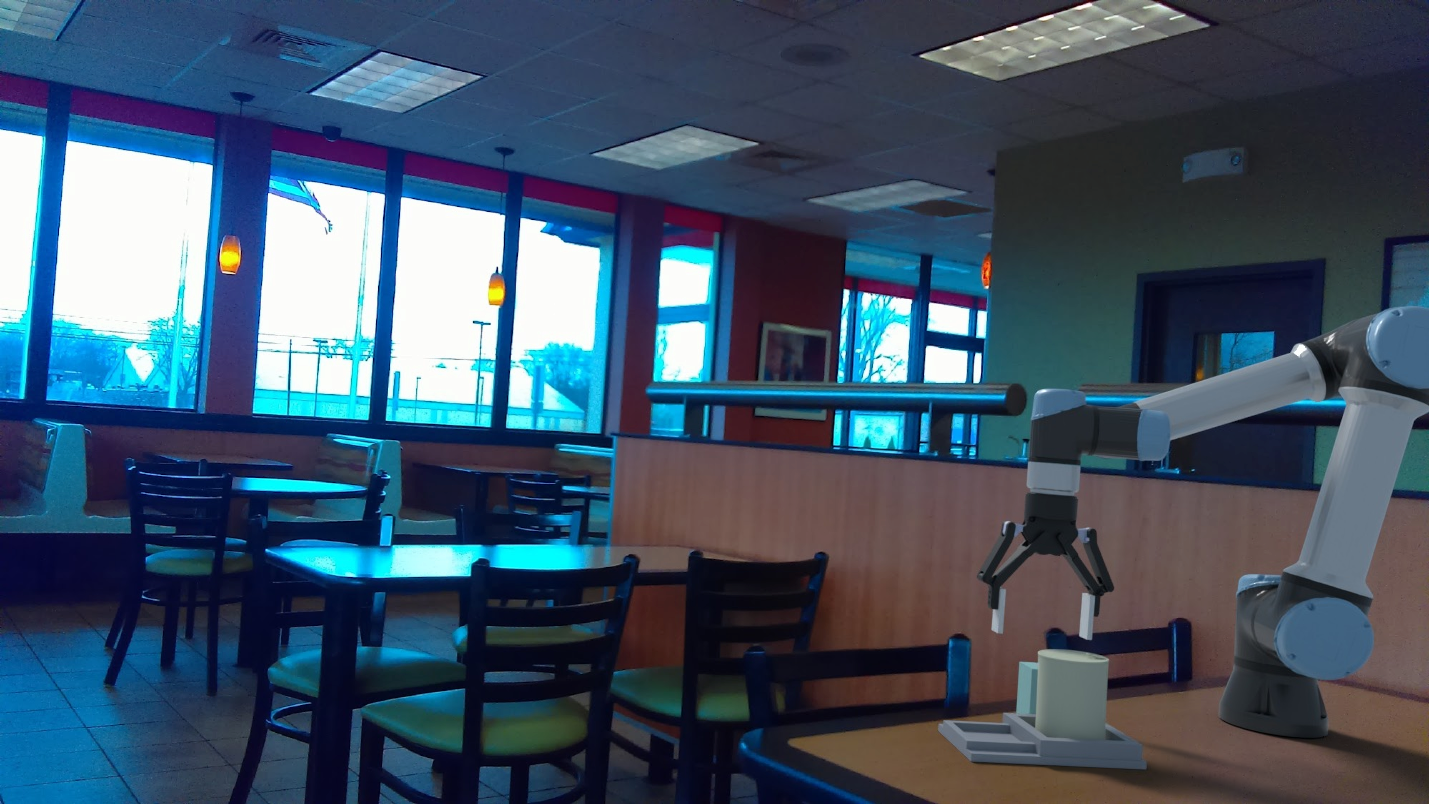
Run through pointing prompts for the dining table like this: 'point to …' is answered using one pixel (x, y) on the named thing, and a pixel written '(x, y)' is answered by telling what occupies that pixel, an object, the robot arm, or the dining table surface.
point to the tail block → (1027, 688)
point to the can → (1071, 694)
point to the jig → (1040, 744)
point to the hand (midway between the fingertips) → (1041, 635)
